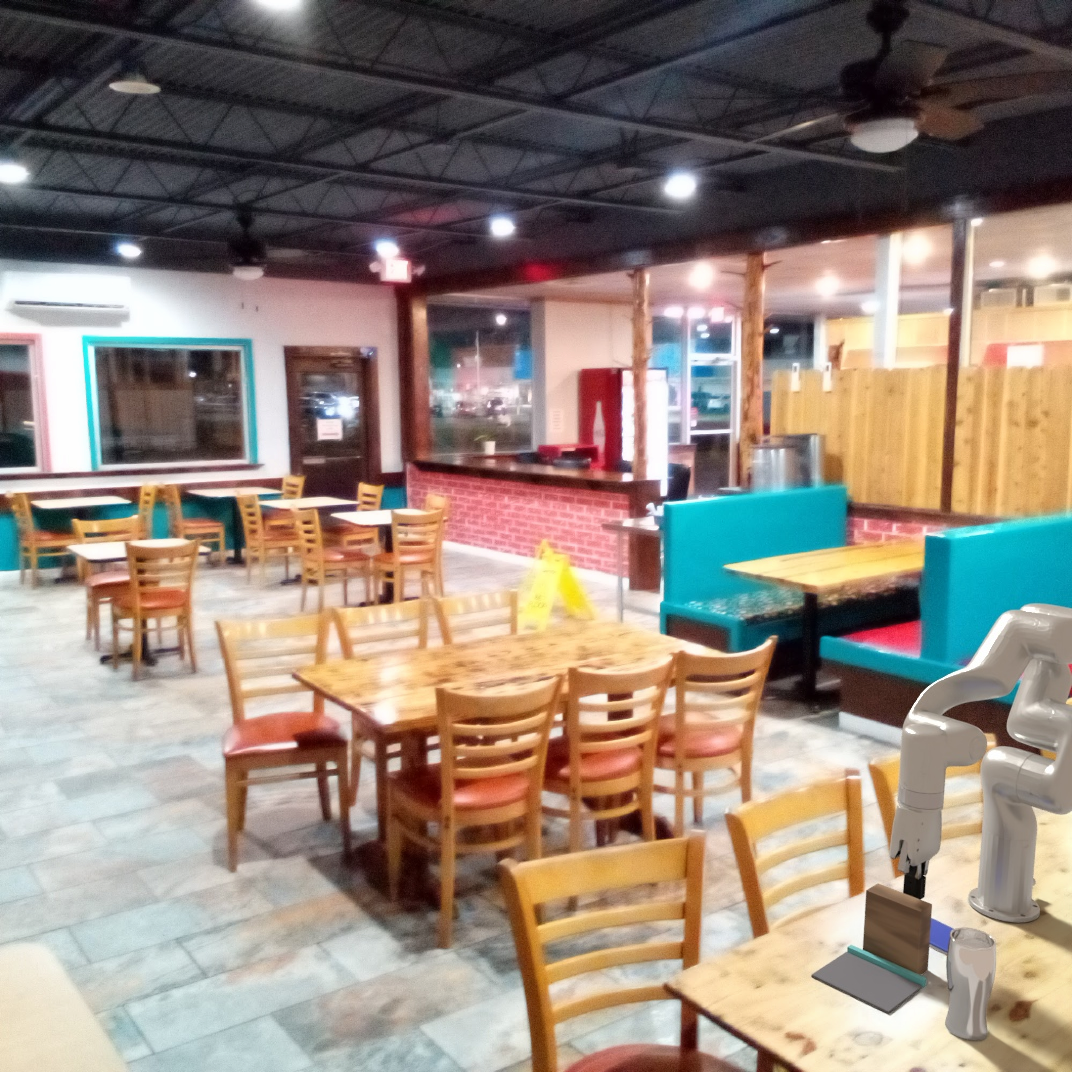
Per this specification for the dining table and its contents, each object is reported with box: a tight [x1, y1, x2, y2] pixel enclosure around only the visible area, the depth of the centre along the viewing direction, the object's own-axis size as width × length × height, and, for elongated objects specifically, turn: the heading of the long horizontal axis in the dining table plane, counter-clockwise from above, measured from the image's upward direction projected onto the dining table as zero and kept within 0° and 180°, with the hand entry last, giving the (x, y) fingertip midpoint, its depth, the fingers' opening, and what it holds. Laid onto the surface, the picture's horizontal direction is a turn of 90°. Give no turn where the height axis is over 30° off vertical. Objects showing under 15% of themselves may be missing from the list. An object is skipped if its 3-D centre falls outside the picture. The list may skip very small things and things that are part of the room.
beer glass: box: [944, 926, 997, 1042], centre depth 156 cm, size 7×7×15 cm
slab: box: [862, 883, 933, 976], centre depth 175 cm, size 4×10×12 cm, turn 42°
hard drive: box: [929, 917, 955, 956], centre depth 182 cm, size 2×8×12 cm
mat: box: [811, 951, 923, 1015], centre depth 169 cm, size 11×14×1 cm
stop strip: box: [846, 944, 928, 988], centre depth 173 cm, size 1×14×1 cm, turn 42°
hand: (913, 896), depth 178 cm, fingers closed
